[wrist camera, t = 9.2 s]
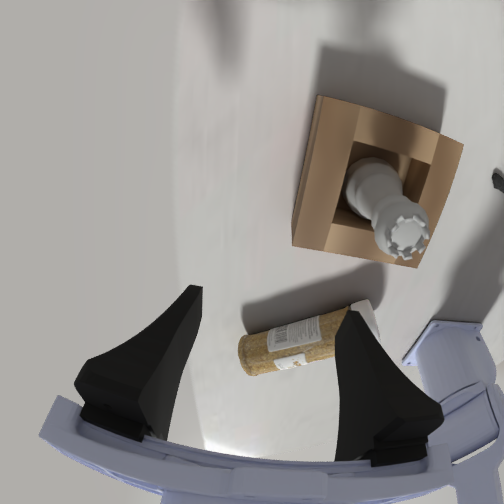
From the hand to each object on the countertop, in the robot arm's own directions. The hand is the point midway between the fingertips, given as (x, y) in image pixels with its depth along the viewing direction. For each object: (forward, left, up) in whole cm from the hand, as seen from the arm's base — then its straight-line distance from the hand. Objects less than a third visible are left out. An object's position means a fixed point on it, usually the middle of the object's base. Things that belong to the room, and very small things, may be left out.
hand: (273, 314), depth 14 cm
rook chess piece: (-6, -5, -10) cm, 12 cm away
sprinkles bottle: (+1, +15, -8) cm, 17 cm away
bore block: (-6, -5, -10) cm, 13 cm away
